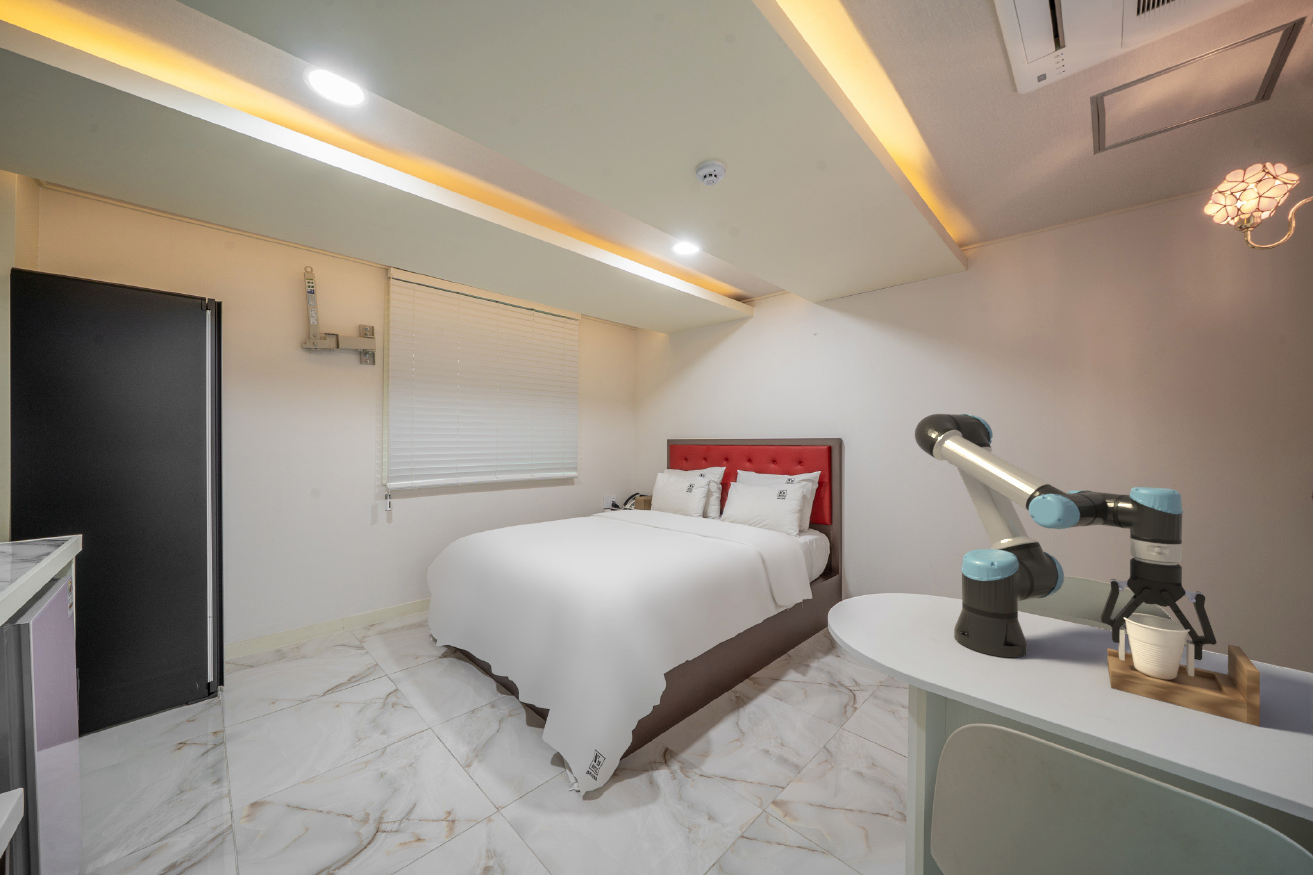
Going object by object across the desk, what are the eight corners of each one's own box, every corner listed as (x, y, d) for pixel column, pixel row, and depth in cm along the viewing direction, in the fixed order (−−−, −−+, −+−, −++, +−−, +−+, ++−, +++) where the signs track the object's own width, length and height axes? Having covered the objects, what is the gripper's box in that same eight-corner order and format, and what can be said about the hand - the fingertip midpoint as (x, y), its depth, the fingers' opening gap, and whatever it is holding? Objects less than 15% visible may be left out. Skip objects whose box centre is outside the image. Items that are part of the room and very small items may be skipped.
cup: (1205, 687, 93) (1205, 633, 93) (1146, 682, 95) (1146, 628, 95) (1162, 664, 102) (1162, 614, 102) (1109, 659, 104) (1109, 611, 104)
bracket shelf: (1111, 687, 98) (1111, 640, 98) (1107, 663, 108) (1107, 621, 108) (1259, 726, 85) (1259, 672, 85) (1239, 694, 95) (1239, 646, 95)
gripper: (1085, 554, 103) (1084, 655, 103) (1241, 574, 88) (1241, 691, 88) (1084, 548, 109) (1084, 644, 109) (1231, 566, 94) (1231, 676, 94)
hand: (1154, 665), depth 99 cm, fingers closed on cup, 9 cm apart
